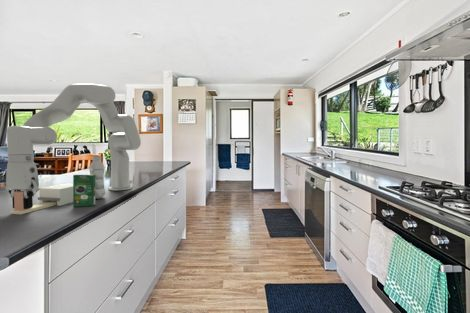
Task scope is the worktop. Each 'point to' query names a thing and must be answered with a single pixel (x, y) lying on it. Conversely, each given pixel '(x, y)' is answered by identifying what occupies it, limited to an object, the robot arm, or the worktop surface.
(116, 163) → the robot arm
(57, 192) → the dispenser
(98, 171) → the plastic bottle
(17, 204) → the block on flat board
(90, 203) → the coffee box
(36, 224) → the worktop surface
